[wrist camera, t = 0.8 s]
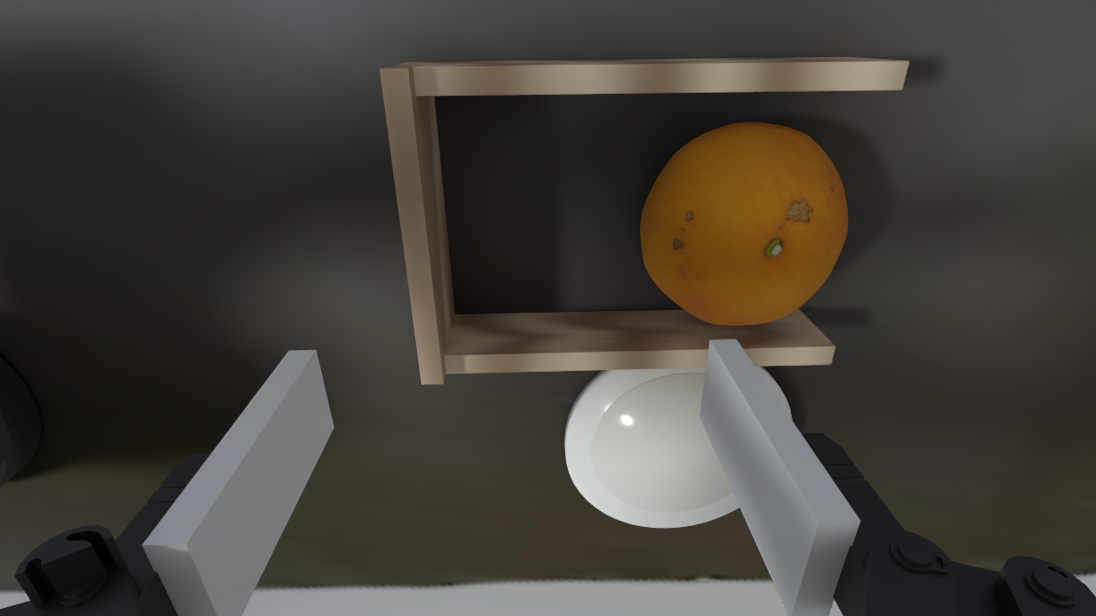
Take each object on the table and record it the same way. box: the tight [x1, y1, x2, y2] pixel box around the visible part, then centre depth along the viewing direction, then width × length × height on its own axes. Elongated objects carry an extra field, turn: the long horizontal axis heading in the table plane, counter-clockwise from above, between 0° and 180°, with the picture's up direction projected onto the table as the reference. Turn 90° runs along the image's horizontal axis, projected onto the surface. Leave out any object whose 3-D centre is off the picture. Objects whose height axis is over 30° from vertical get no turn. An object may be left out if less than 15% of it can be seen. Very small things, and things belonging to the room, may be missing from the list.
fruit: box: [640, 122, 848, 326], centre depth 29 cm, size 10×10×8 cm
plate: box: [564, 366, 792, 528], centre depth 39 cm, size 16×16×1 cm
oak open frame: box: [379, 57, 910, 384], centre depth 30 cm, size 23×16×6 cm
